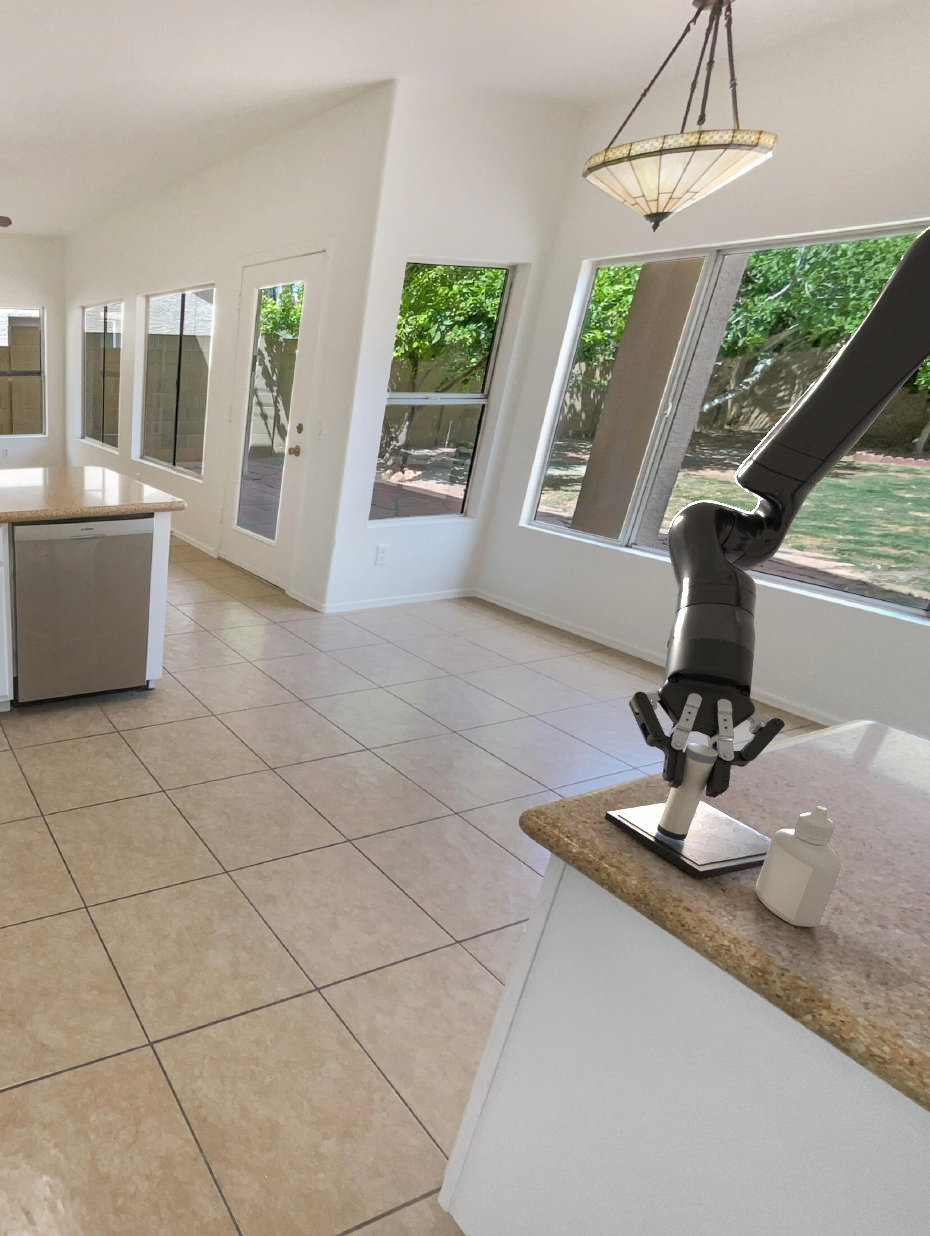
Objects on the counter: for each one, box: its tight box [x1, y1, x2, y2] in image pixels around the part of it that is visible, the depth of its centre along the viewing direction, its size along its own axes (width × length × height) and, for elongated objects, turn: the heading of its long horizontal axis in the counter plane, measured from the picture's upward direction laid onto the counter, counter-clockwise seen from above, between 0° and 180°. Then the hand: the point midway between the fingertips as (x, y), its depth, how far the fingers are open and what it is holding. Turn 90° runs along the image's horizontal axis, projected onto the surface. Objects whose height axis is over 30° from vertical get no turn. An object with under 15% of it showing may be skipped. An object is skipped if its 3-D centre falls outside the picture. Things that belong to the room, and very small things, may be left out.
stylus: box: [657, 742, 718, 840], centre depth 78 cm, size 3×3×11 cm
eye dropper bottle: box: [754, 805, 842, 928], centre depth 68 cm, size 4×6×12 cm
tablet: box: [604, 800, 773, 880], centre depth 80 cm, size 14×11×1 cm
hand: (694, 789), depth 75 cm, fingers closed on stylus, 2 cm apart
